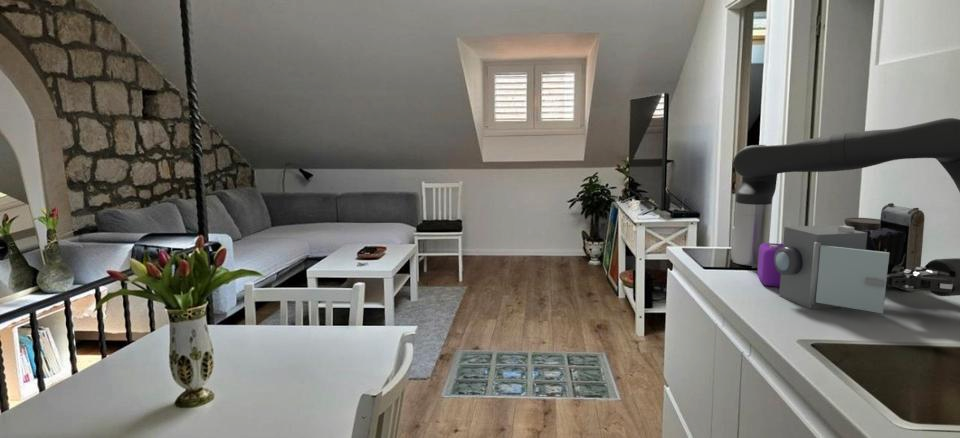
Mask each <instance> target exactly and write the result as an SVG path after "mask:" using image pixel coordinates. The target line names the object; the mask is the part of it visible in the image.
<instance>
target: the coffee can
mask: <svg viewBox="0 0 960 438" xmlns="http://www.w3.org/2000/svg"><path fill="white" fill-rule="evenodd" d="M844 226H850V227H854V230H856V231H863V230H869V231H875V230H878V229H880V219H879V218H870V217H845V218H844Z"/></svg>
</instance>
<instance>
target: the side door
mask: <svg viewBox="0 0 960 438" xmlns="http://www.w3.org/2000/svg"><path fill="white" fill-rule="evenodd" d="M820 247H821V248H820ZM888 262H889V252H880V251H871V250H861V249H852V248H843V247H834V246H825V245H821V243H820V242H814V251H813V262H812V273H811V285H810V296H809V304H815V303H816V302H817V303H823V304H829V305H835V306H841V307H840V308H848V309H855V310H860V311H866V312H873V313H878V314H883V313H884V307H885V306H884V305H885V297H886V291H887V286H886V281H887V272H888ZM818 270H819V271H818ZM817 281H818V282H817ZM816 292H817V293H816Z"/></svg>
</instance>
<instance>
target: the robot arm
mask: <svg viewBox="0 0 960 438" xmlns="http://www.w3.org/2000/svg"><path fill="white" fill-rule="evenodd" d="M911 159H912V160H913V159H935V160H937V161H938V162H939V164H940V165H941V166H942V167H943V168H944V170H945V171H946V172H947V173H948V175H949V176H950V178H951V179H952V181H953V182H954V184H955V185H956V188H957V190H958V192H959V193H960V119H959V118H954V117H950V118H949V117H947V118H941V119H937V120H932V121H927V122H923V123H918V124H914V125H913V124H912V125H908V126H903V127H897V128H890V129H887V128H886V129H874V130H873V129H872V130H864V131H863V130H862V131H861V130H860V131H853V132H852V131H851V132H843V133H838V134H837V133H836V134H830V135H825V136H819V137H815V138H809V139H804V140H802V141H801V140H800V141H797V142H796V141H795V142H792V143H786V144H775V145H773V144H772V145H766V144H755V145H754V144H752V145H748V146H745V147H743V148H741V149H740V150H739V151H738V152H737V153H736V154H735V156H734V158H733V165H732V166H733V169H734V170H735V172H736V173H737V174H738V175H740V176H741V177H742V180H741V185H740V188H739V189H738V191H737V192H736V197H735V209H734V210H735V211H734V223H733V224H734V225H733V227H732V231H731V232H732V233H731V247H730V261H731V262H732V263H734V264H738V265H742V266H749V267H751V266H752V267H758V258H759V248H760V246H761V244H764V243H770V239H771V226H772V225H771V224H772V223H771V222H772V213H773V212H772V208H773V198H774V195H775V192H776V188H777V181H778V174H782V173H795V172H796V173H804V172H805V173H824V172H825V173H826V172H827V173H828V172H843V171H852V170H859V169H865V168H869V167H872V166H877V165H881V164H884V163H888V162H893V161H898V160H911ZM896 286H903V287H905V288H908V287H913V289H916V290H915V291H928V292H930V293H931V294H933V295H936V296H939V297H954V296H955V297H956V296H960V257H956V258H955V257H954V258H953V257H952V258H937V259H936V258H935V259H933V260H931V261H929V262H927V264H926V265H925V266H921V267H916V268H913V269H905V270H904V268H902V267H901V266H898V265H897V266H895V267H894V268H893V269H892V272H891V274H887V281H886V288H887V287H888V288H891V287H892V288H897V287H896Z"/></svg>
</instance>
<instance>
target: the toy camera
mask: <svg viewBox="0 0 960 438" xmlns="http://www.w3.org/2000/svg"><path fill="white" fill-rule="evenodd" d="M779 248H783V243H772V242H771V243H770V242H769V243H764V244H761V246H760V248H759V258H758V266H757V276H758V278H759V280H760V282H761V284H763V285H765V286H767V287H775V288H776V287H778V288H780V278H781V274H780V273H779V272H778V271H777V269H776V267H775V264H774V256H775V253H776V251H777V250H778V249H779Z"/></svg>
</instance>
